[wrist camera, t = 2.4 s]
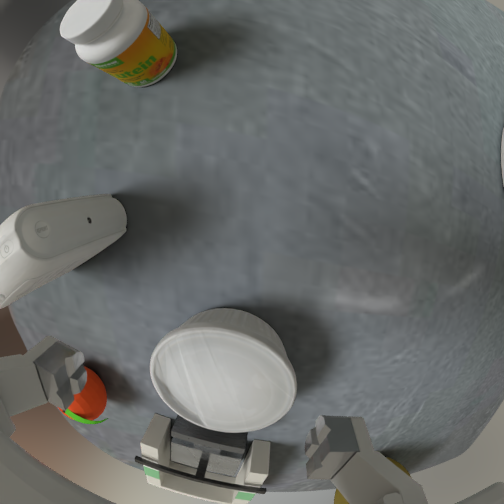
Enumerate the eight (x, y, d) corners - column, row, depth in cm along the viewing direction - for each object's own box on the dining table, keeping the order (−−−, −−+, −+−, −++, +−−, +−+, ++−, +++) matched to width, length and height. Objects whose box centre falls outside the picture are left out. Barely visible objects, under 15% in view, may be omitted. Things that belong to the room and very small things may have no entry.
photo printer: (116, 185, 20) (-5, 200, 8) (137, 230, 21) (24, 280, 9) (50, 237, 22) (-43, 274, 10) (67, 275, 23) (-21, 327, 11)
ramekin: (148, 335, 24) (123, 367, 19) (236, 268, 21) (224, 295, 16) (226, 408, 25) (217, 445, 20) (317, 361, 23) (324, 401, 18)
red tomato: (125, 375, 25) (96, 417, 18) (123, 409, 27) (99, 447, 20) (70, 343, 25) (35, 375, 18) (73, 380, 27) (45, 411, 20)
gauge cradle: (270, 441, 26) (268, 476, 21) (247, 482, 30) (244, 508, 25) (154, 413, 26) (139, 443, 21) (157, 459, 30) (147, 484, 25)
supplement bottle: (126, 98, 18) (49, 66, 9) (119, 53, 17) (53, 11, 8) (184, 72, 17) (127, 13, 8) (172, 27, 16) (122, -34, 7)
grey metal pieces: (287, 420, 25) (287, 464, 19) (263, 464, 27) (259, 499, 22) (149, 386, 25) (127, 424, 19) (151, 436, 28) (136, 468, 22)
